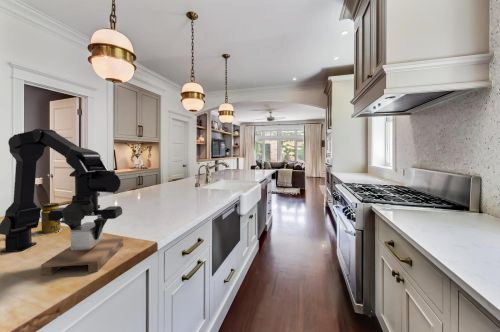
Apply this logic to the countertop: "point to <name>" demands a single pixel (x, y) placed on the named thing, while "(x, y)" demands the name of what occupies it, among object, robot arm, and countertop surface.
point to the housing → (84, 237)
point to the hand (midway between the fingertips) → (87, 239)
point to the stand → (84, 256)
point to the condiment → (48, 225)
